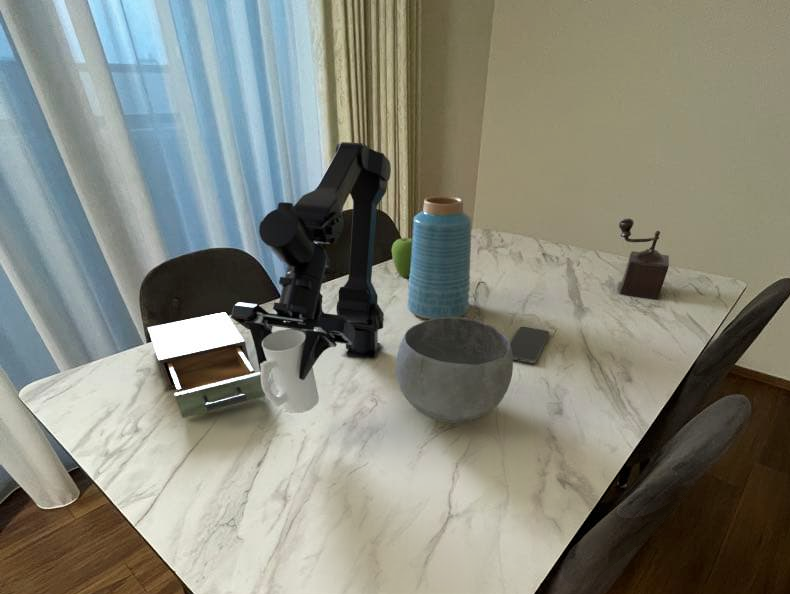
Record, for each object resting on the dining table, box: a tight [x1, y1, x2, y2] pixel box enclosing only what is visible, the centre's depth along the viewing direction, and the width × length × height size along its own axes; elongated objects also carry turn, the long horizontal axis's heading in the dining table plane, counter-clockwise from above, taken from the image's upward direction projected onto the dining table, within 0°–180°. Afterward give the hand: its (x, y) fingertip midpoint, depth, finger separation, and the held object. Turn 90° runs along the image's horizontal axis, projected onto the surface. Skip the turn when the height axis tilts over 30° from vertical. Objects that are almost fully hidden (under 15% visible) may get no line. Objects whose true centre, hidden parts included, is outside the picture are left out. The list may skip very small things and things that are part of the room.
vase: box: [406, 195, 473, 321], centre depth 117 cm, size 16×16×27 cm
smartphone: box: [510, 325, 550, 364], centre depth 109 cm, size 7×1×16 cm
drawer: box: [167, 346, 267, 419], centre depth 90 cm, size 20×15×5 cm
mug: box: [260, 328, 320, 414], centre depth 75 cm, size 10×7×12 cm, turn 151°
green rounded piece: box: [391, 236, 412, 278], centre depth 142 cm, size 9×8×12 cm
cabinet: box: [146, 311, 251, 390], centre depth 101 cm, size 17×17×7 cm
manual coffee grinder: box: [618, 218, 670, 300], centre depth 133 cm, size 16×11×18 cm
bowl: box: [395, 317, 514, 424], centre depth 85 cm, size 20×20×15 cm
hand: (282, 376), depth 73 cm, fingers closed on mug, 6 cm apart
